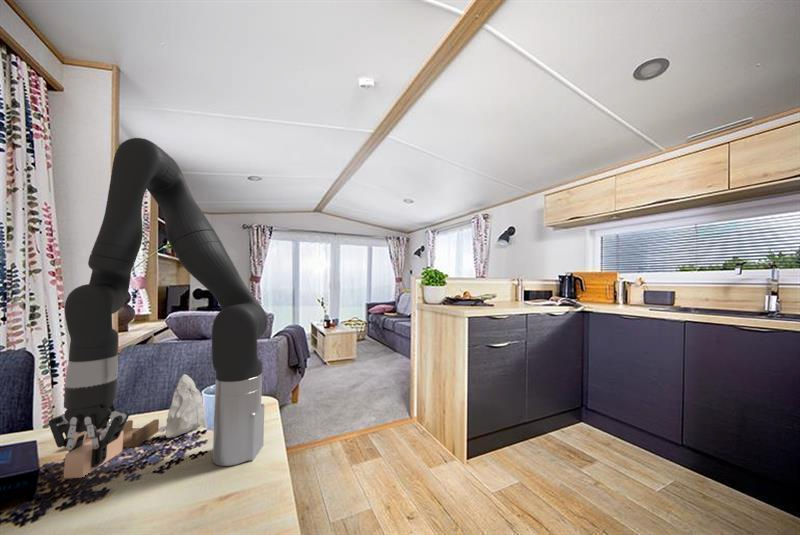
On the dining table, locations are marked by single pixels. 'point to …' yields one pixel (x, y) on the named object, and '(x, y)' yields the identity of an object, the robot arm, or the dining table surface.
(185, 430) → the stone tool
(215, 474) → the dining table surface
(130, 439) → the rack
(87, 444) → the pink rectangular block
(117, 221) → the robot arm
